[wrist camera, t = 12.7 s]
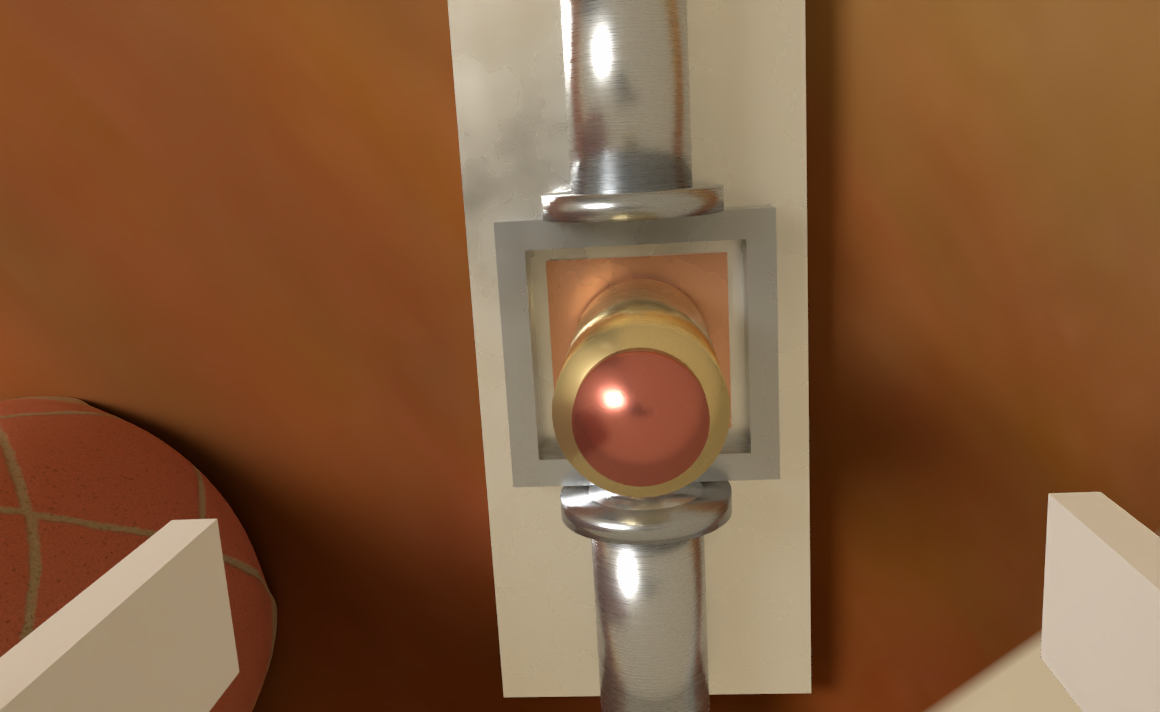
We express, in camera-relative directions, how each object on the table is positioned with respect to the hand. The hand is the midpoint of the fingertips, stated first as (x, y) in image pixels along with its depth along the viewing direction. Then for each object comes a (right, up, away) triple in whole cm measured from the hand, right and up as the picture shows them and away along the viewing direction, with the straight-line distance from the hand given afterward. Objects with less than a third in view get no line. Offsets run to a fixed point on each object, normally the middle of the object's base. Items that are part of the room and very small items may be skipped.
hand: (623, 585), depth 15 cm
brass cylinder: (+1, +4, +19) cm, 20 cm away
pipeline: (+2, +4, +21) cm, 22 cm away
